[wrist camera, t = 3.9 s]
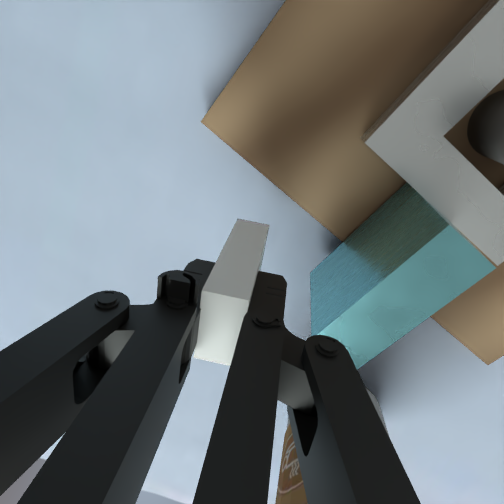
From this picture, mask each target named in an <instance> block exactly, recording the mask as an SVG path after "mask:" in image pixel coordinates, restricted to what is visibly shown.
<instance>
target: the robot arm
mask: <svg viewBox="0 0 504 504" xmlns="http://www.w3.org/2000/svg"><path fill="white" fill-rule="evenodd" d="M268 229H269V225H267V224H262V223H257V222H252V221H247V220H242V219H237V221H236V223H235V225H234V227H233V229H232V231H231V233H230V235H229V237H228V239H227V241H226V243H225V245H224V247H223V249H222V251H221V253H220V255H219V257H218V259H217V261H216V263H214V262H209V261H205V260H200V259H196V260H194V261H192V262H190V263H188V265H187V266H186V268H185V269H184V271H180V270H173V271H167V272H164V273H162V274H161V275H159V276H158V288H157V299H156V301H155V302H154V304H149V305H130V300H129V298H128V297H127V296H126V295H124V294H123V293H121V292H117V291H101V292H97V293H94V294H92V295H90V296H88V297H87V298H85V299H83V300H82V301H80V302H79V303H77V304H75V305H74V306H72V307H71V308H69V309H67V310H66V311H64V312H62V313H61V314H59V315H58V316H56V317H54V318H53V319H51V320H50V321H48V322H46V323H45V324H43V325H42V326H40V327H38V328H37V329H35V330H34V331H32V332H30V333H29V334H27V335H26V336H24V337H22V338H21V339H19V340H18V341H16V342H14V343H13V344H11V345H10V346H8V347H6V348H5V349H3V350H2V351H0V496H1V495H2V494H3V493H4V492H5V491H6V490H7V489H8V488H9V487H10V486H11V485H12V484H13V483H14V482H15V481H16V480H17V479H18V478H19V477H20V476H21V475H22V474H23V473H24V472H25V471H26V470H27V469H28V468H29V467H30V466H31V465H32V464H33V463H34V462H35V461H36V460H37V459H39V458H40V457H41V456H42V455H43V454H44V453H45V452H46V451H47V450H48V449H49V448H50V447H51V446H52V445H53V444H54V443H55V442H56V441H57V440H58V439H59V438H60V437H61V436H62V435H63V434H64V433H65V432H66V433H65V434H64V435H63V437H62V438H61V440H60V441H59V443H58V444H57V446H56V447H55V449H54V450H53V452H52V453H51V455H50V456H49V457H48V459H47V460H46V462H45V463H44V465H43V466H42V468H41V469H40V471H39V472H38V474H37V475H36V477H35V478H34V479H33V481H32V483H31V484H30V485H29V487H28V488H27V490H26V491H25V493H24V494H23V496H22V497H21V499H20V500H19V501H18V503H17V504H135V503H136V501H137V498H138V495H139V493H140V491H141V488H142V486H143V483H144V481H145V478H146V476H147V473H148V471H149V469H150V466H151V464H152V461H153V459H154V456H155V454H156V451H157V449H158V446H159V444H160V441H161V439H162V436H163V434H164V431H165V429H166V426H167V424H168V421H169V419H170V416H171V414H172V412H173V409H174V407H175V404H176V402H177V399H178V397H179V394H180V392H181V389H182V387H183V384H184V382H185V379H186V377H187V374H188V372H189V369H190V362H191V356H192V354H193V351H194V349H195V352H194V358H197V359H201V360H206V361H210V362H215V363H219V364H224V365H228V366H230V369H229V373H228V376H227V380H226V384H225V387H224V391H223V394H222V398H221V402H220V405H219V409H218V413H217V416H216V420H215V424H214V427H213V431H212V435H211V438H210V442H209V446H208V449H207V453H206V456H205V460H204V464H203V467H202V471H201V475H200V478H199V482H198V486H197V489H196V493H195V497H194V500H193V504H267V500H268V490H269V480H270V469H271V459H272V449H273V439H274V429H275V419H276V408H277V400H279V401H281V402H283V403H285V404H286V405H287V411H288V416H289V420H290V425H291V430H292V434H293V439H294V443H295V448H296V452H297V457H298V461H299V466H300V471H301V475H302V480H303V484H304V489H305V493H306V498H307V502H308V504H421V503H420V501H419V499H418V497H417V495H416V493H415V491H414V489H413V486H412V484H411V482H410V480H409V478H408V476H407V474H406V472H405V470H404V468H403V465H402V463H401V461H400V459H399V457H398V455H397V453H396V451H395V449H394V446H393V444H392V442H391V440H390V438H389V436H388V434H387V432H386V430H385V428H384V425H383V423H382V421H381V419H380V417H379V415H378V413H377V411H376V409H375V407H374V404H373V402H372V400H371V398H370V396H369V394H368V392H367V390H366V388H365V385H364V383H363V381H362V379H361V377H360V375H359V373H358V371H357V369H356V367H355V364H354V362H353V360H352V358H351V356H350V354H349V352H348V350H347V349H346V347H345V346H344V345H343V344H342V343H341V342H339V341H338V340H337V339H334V338H332V337H330V336H325V335H313V336H311V337H309V338H308V339H307V340H306V341H305V340H303V339H300V338H298V337H296V336H295V335H293V334H292V333H291V332H289V331H288V330H287V328H286V327H285V325H284V321H283V318H284V308H285V297H286V288H287V282H286V281H285V279H284V277H283V276H281V275H276V274H271V273H267V272H262V271H260V270H261V265H262V260H263V254H264V249H265V244H266V239H267V234H268Z"/></svg>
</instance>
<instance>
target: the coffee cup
mask: <svg viewBox="0 0 504 504" xmlns="http://www.w3.org/2000/svg"><path fill="white" fill-rule="evenodd" d="M365 388H366V387H365ZM366 390H367V392H368V394H369V396H370V398H371V400H372V402H373V404H374V407H375V409H376V411H377V413H378V415H379V417H380V419H381V421H382V423H383V425H384V428H385V430H386V432H387V434H388V431H387V428H386V425H385V422H384V418H383V415H382V412H381V409H380V406H379V404H378V402H377V400H376V398H375V396H374V395H373V394H372V393H371V392H370V391H369V390H368V389H367V388H366ZM388 436H389V435H388ZM275 504H308V502H307V498H306V493H305V489H304V484H303V480H302V475H301V471H300V466H299V461H298V457H297V452H296V448H295V443H294V439H293V434H292V430H291V425H290V420H289V416H288V424H287V431H286V433H285V437H284V444H283V452H282V459H281V466H280V474H279V481H278V488H277V496H276V503H275Z"/></svg>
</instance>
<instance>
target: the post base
mask: <svg viewBox="0 0 504 504" xmlns="http://www.w3.org/2000/svg"><path fill="white" fill-rule="evenodd" d="M488 1H489V0H286V1H285V2H284V4H283V5H282V7H281V8H280V9H279V11H278V12H277V14H276V15H275V17H274V18H273V19H272V21H271V22H270V24H269V25H268V27H267V28H266V29H265V31H264V32H263V34H262V35H261V37H260V38H259V39H258V41H257V42H256V44H255V45H254V47H253V48H252V49H251V51H250V52H249V54H248V55H247V57H246V58H245V59H244V61H243V62H242V64H241V65H240V67H239V68H238V69H237V71H236V72H235V74H234V75H233V77H232V78H231V79H230V81H229V82H228V84H227V85H226V87H225V88H224V89H223V91H222V92H221V94H220V95H219V97H218V98H217V99H216V101H215V102H214V104H213V105H212V107H211V108H210V109H209V111H208V112H207V114H206V115H205V117H204V118H203V119H202V121H201V122H202V123H203V124H204V125H205V126H206V127H207V128H209V129H210V130H211V131H212V132H213V133H214V134H216V135H217V136H218V137H219V138H220V139H222V140H223V141H224V142H225V143H226V144H227V145H229V146H230V147H231V148H232V149H233V150H235V151H236V152H237V153H238V154H239V155H240V156H242V157H243V158H244V159H245V160H246V161H248V162H249V163H250V164H251V165H252V166H253V167H255V168H256V169H257V170H258V171H259V172H260V173H262V174H263V175H264V176H265V177H266V178H268V179H269V180H270V181H271V182H272V183H273V184H275V185H276V186H277V187H278V188H279V189H281V190H282V191H283V192H284V193H285V194H286V195H288V196H289V197H290V198H291V199H292V200H293V201H295V202H296V203H297V204H298V205H299V206H301V207H302V208H303V209H304V210H305V211H306V212H308V213H309V214H310V215H311V216H312V217H314V218H315V219H316V220H317V221H318V222H319V223H321V224H322V225H323V226H324V227H325V228H327V229H328V230H329V231H330V232H331V233H332V234H334V235H335V236H336V237H337V238H338V239H339V240H341V241H342V242H344V241H345V240H346V239H347V238H348V237H349V236H350V235H351V234H352V233H353V232H354V231H355V230H356V229H358V228H359V227H360V226H361V225H362V224H363V223H364V222H365V221H366V220H367V219H368V218H369V217H370V216H371V215H372V214H374V213H375V212H376V211H377V210H378V209H379V208H380V207H381V206H382V205H383V204H384V203H385V202H386V201H387V200H388V199H389V198H391V197H392V196H393V195H394V194H395V193H396V192H397V191H398V190H399V189H400V188H401V187H402V186H403V185H404V184H405V183H407V182H406V181H405V180H404V179H403V178H402V177H401V176H400V175H399V174H398V173H397V172H396V171H395V170H394V169H392V168H391V167H390V166H389V165H388V164H387V163H386V162H385V161H384V160H383V159H382V158H381V157H379V156H378V155H377V154H376V153H375V152H374V151H373V150H372V149H371V148H370V147H369V146H368V145H367V144H365V143H364V142H363V140H362V139H361V136H362V135H363V134H364V133H365V132H366V131H367V130H368V129H369V128H370V127H371V126H372V125H373V124H374V123H375V121H376V120H377V119H378V118H379V117H380V116H381V115H382V114H383V113H384V112H385V111H386V110H387V109H388V108H389V107H390V105H391V104H392V103H393V102H394V101H395V100H396V99H397V98H398V97H399V96H400V95H401V94H402V93H403V92H404V90H405V89H406V88H407V87H408V86H409V85H410V84H411V83H412V82H413V81H414V80H415V79H416V78H417V77H418V76H419V74H420V73H421V72H422V71H423V70H424V69H425V68H426V67H427V66H428V65H429V64H430V63H431V62H432V61H433V59H434V58H435V57H436V56H437V55H438V54H439V53H440V52H441V51H442V50H443V49H444V48H445V47H446V46H447V45H448V43H449V42H450V41H451V40H452V39H453V38H454V37H455V36H456V35H457V34H458V33H459V32H460V31H461V30H462V28H463V27H464V26H465V25H466V24H467V23H468V22H469V21H470V20H471V19H472V18H473V17H474V16H475V15H476V14H477V12H478V11H479V10H480V9H481V8H482V7H483V6H484V5H485V4H486V3H487V2H488ZM443 137H445V138H446V139H447V140H448V141H449V142H450V143H451V144H452V145H453V146H454V147H455V148H456V149H457V150H458V151H459V152H460V153H461V154H462V155H463V156H464V157H465V158H466V159H467V160H468V161H469V162H470V163H471V164H472V165H473V166H474V167H475V168H476V169H477V170H478V171H479V172H480V173H481V174H482V175H483V176H484V177H485V178H486V179H487V180H488V181H489V182H490V183H491V184H492V185H493V186H494V187H495V188H496V189H499V188H500V187H501V186H503V185H504V79H502V80H501V81H500V82H499V83H498V84H497V85H496V86H495V87H494V88H493V89H492V90H491V91H490V92H489V93H488V94H487V95H486V96H485V97H484V98H483V99H482V100H480V101H479V102H478V103H477V104H476V105H475V106H474V107H473V108H472V109H471V110H470V111H469V112H468V113H467V114H466V115H465V116H464V117H463V118H462V119H461V120H460V121H458V122H457V123H456V124H455V125H454V126H453V127H452V128H451V129H450V130H449V131H448V132H447V133H446V134H445V135H444V136H443ZM461 233H462V232H461ZM462 234H463V233H462ZM463 235H464V234H463ZM464 236H465V235H464ZM465 237H466V236H465ZM466 238H467V237H466ZM467 239H468V238H467ZM468 240H469V239H468ZM469 241H470V240H469ZM470 242H471V241H470ZM471 243H472V242H471ZM472 244H473V243H472ZM473 245H474V244H473ZM474 246H475V247H476V248H477V249H478V250H479V251H480V252H481V253H482V254H483V255H484V256H485V257H486V258H487V259H488V260H489V261H490V262H491V263H492V264H493V265H494V266H495V267H496V269H494V270H493V271H492V272H490V273H489V274H487V275H486V276H485V277H483V278H482V279H481V280H479V281H478V282H477V283H475V284H474V285H472V286H471V287H470V288H468V289H467V290H466V291H464V292H463V293H461V294H460V295H459V296H457V297H456V298H455V299H453V300H452V301H451V302H449V303H448V304H446V305H445V306H444V307H442V308H441V309H440V310H438V311H437V312H435V313H434V314H433V315H431V316H430V317H431V318H433V319H434V320H435V321H436V322H437V323H439V324H440V325H441V326H442V327H443V328H444V329H446V330H447V331H448V332H449V333H450V334H451V335H453V336H454V337H455V338H456V339H457V340H459V341H460V342H461V343H462V344H463V345H464V346H466V347H467V348H468V349H469V350H470V351H472V352H473V353H474V354H475V355H476V356H477V357H479V358H480V359H481V360H482V361H483V362H485V363H486V364H487V365H489V364H491V363H492V362H494V361H496V360H497V359H499V358H500V357H502V356H504V261H503V262H502V263H501V264H499V265H498V266H497V265H496V264H495V263H494V262H493V261H492V260H491V259H490V258H489V257H487V256H486V255H485V254H484V253H483V252H482V251H481V250H480V249H479V248H478V247H477V246H476V245H474Z"/></svg>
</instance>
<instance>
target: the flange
mask: <svg viewBox="0 0 504 504" xmlns="http://www.w3.org/2000/svg"><path fill="white" fill-rule="evenodd" d="M502 79H504V0H489V1H488V2H487V3H486V4H485V5H484V6H483V7H482V8H481V9H480V10H479V11H478V12H477V14H476V15H475V16H474V17H473V18H472V19H471V20H470V21H469V22H468V23H467V24H466V25H465V26H464V27H463V28H462V30H461V31H460V32H459V33H458V34H457V35H456V36H455V37H454V38H453V39H452V40H451V41H450V42H449V43H448V45H447V46H446V47H445V48H444V49H443V50H442V51H441V52H440V53H439V54H438V55H437V56H436V57H435V58H434V59H433V61H432V62H431V63H430V64H429V65H428V66H427V67H426V68H425V69H424V70H423V71H422V72H421V73H420V74H419V76H418V77H417V78H416V79H415V80H414V81H413V82H412V83H411V84H410V85H409V86H408V87H407V88H406V89H405V90H404V92H403V93H402V94H401V95H400V96H399V97H398V98H397V99H396V100H395V101H394V102H393V103H392V104H391V105H390V107H389V108H388V109H387V110H386V111H385V112H384V113H383V114H382V115H381V116H380V117H379V118H378V119H377V120H376V121H375V123H374V124H373V125H372V126H371V127H370V128H369V129H368V130H367V131H366V132H365V133H364V134H363V135H362V136H361V139H362V140H363V142H364V143H365V144H367V145H368V146H369V147H370V148H371V149H372V150H373V151H374V152H375V153H376V154H377V155H378V156H379V157H381V158H382V159H383V160H384V161H385V162H386V163H387V164H388V165H389V166H390V167H391V168H392V169H394V170H395V171H396V172H397V173H398V174H399V175H400V176H401V177H402V178H403V179H404V180H405V181H406V182H407V183H405V184H404V185H403V186H402V187H401V188H400V189H399V190H398V191H397V192H396V193H395V194H394V195H393V196H392V197H391V198H389V199H388V200H387V201H386V202H385V203H384V204H383V205H382V206H381V207H380V208H379V209H378V210H377V211H376V212H375V213H374V214H372V215H371V216H370V217H369V218H368V219H367V220H366V221H365V222H364V223H363V224H362V225H361V226H360V227H359V228H358V229H356V230H355V231H354V232H353V233H352V234H351V235H350V236H349V237H348V238H347V239H346V240H345V241H344V242H343V243H342V244H341V245H339V246H338V247H337V248H336V249H335V250H334V251H333V252H332V253H331V254H330V255H329V256H328V257H327V258H326V259H325V260H323V261H322V262H321V263H320V264H319V265H318V266H317V267H316V268H315V269H314V270H313V271H312V272H311V273H310V285H311V333H312V336H313V335H325V336H330V337H332V338H334V339H337V340H338V341H339V342H341V343H342V344H343V345H344V346H345V347H346V349H347V350H348V352H349V354H350V356H351V358H352V360H353V362H354V364H355V367H356V369H357V370H358V369H359V368H360V367H362V366H363V365H364V364H366V363H367V362H368V361H370V360H371V359H373V358H374V357H375V356H377V355H378V354H379V353H381V352H382V351H384V350H385V349H386V348H388V347H389V346H390V345H392V344H393V343H394V342H396V341H397V340H399V339H400V338H401V337H403V336H404V335H405V334H407V333H408V332H410V331H411V330H412V329H414V328H415V327H416V326H418V325H419V324H420V323H422V322H423V321H425V320H426V319H427V318H429V317H430V316H431V315H433V314H434V313H435V312H437V311H438V310H440V309H441V308H442V307H444V306H445V305H446V304H448V303H449V302H451V301H452V300H453V299H455V298H456V297H457V296H459V295H460V294H461V293H463V292H464V291H466V290H467V289H468V288H470V287H471V286H472V285H474V284H475V283H477V282H478V281H479V280H481V279H482V278H483V277H485V276H486V275H487V274H489V273H490V272H492V271H493V270H494V269H496V267H495V266H494V265H493V264H492V263H491V262H490V261H489V260H488V259H487V258H486V257H485V256H484V255H483V254H482V253H481V252H480V251H479V250H478V249H477V248H476V247H475V246H474V245H476V246H477V247H478V248H479V249H480V250H481V251H482V252H483V253H484V254H485V255H486V256H487V257H489V258H490V259H491V260H492V261H493V262H494V263H495V264H496V265H497V266H498V265H499V264H501V263H502V262H503V261H504V185H503V186H501V187H500V188H499V189H496V188H495V187H494V186H493V185H492V184H491V183H490V182H489V181H488V180H487V179H486V178H485V177H484V176H483V175H482V174H481V173H480V172H479V171H478V170H477V169H476V168H475V167H474V166H473V165H472V164H471V163H470V162H469V161H468V160H467V159H466V158H465V157H464V156H463V155H462V154H461V153H460V152H459V151H458V150H457V149H456V148H455V147H454V146H453V145H452V144H451V143H450V142H449V141H448V140H447V139H446V138H445V137H443V136H444V135H445V134H446V133H447V132H448V131H449V130H450V129H451V128H452V127H453V126H454V125H455V124H456V123H457V122H458V121H460V120H461V119H462V118H463V117H464V116H465V115H466V114H467V113H468V112H469V111H470V110H471V109H472V108H473V107H474V106H475V105H476V104H477V103H478V102H479V101H480V100H482V99H483V98H484V97H485V96H486V95H487V94H488V93H489V92H490V91H491V90H492V89H493V88H494V87H495V86H496V85H497V84H498V83H499V82H500V81H501V80H502ZM461 232H462V233H463V234H464V235H465V236H466V237H467V238H468V239H469V240H470V241H471V242H472V243H473V244H474V245H473V244H472V243H471V242H470V241H469V240H468V239H467V238H466V237H465V236H464V235H463V234H462V233H461Z"/></svg>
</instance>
